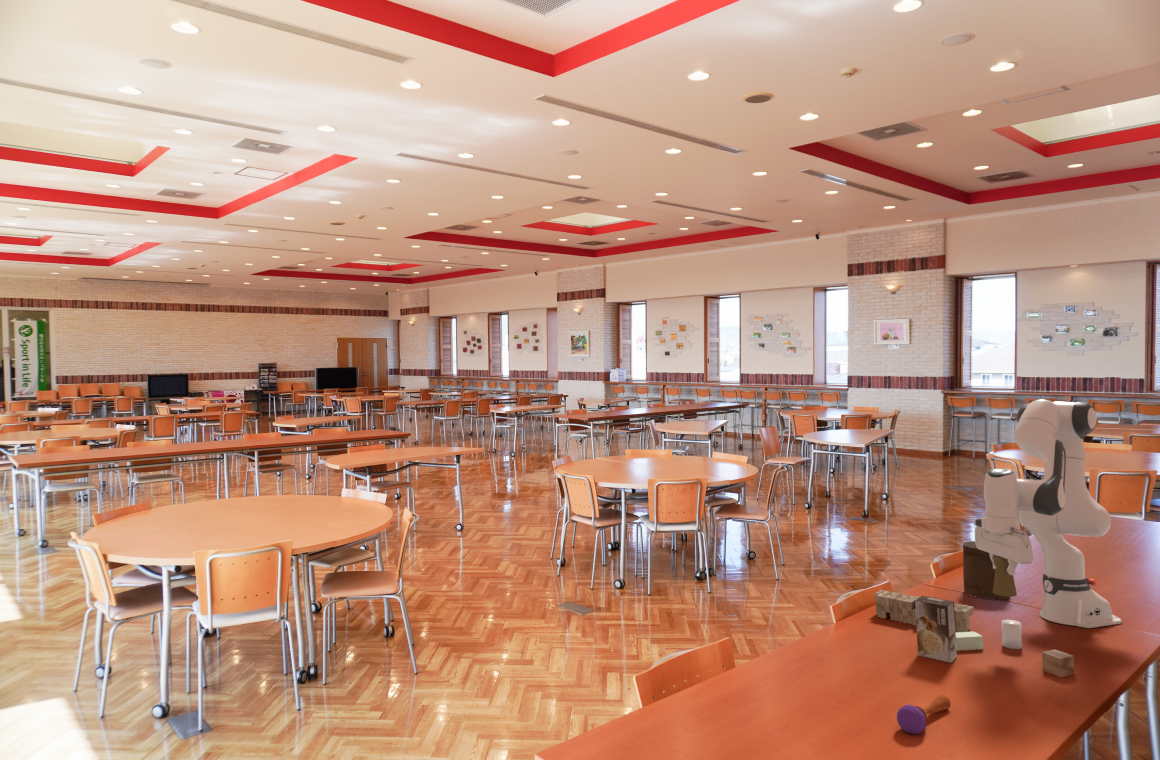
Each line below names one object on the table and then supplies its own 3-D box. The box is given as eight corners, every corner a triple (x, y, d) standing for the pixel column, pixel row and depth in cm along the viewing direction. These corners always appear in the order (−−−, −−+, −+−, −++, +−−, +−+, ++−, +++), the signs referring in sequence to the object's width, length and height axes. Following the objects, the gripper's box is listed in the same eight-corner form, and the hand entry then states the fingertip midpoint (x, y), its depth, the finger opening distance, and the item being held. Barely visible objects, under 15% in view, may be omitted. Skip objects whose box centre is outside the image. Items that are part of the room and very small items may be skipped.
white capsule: (1014, 642, 207) (1013, 619, 207) (1026, 648, 202) (1025, 624, 202) (998, 643, 207) (997, 620, 207) (1010, 649, 202) (1009, 625, 202)
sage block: (974, 644, 207) (973, 631, 207) (983, 649, 203) (982, 636, 203) (949, 646, 206) (948, 632, 206) (957, 651, 202) (957, 637, 202)
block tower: (872, 619, 234) (966, 637, 213) (871, 594, 234) (964, 610, 213) (882, 613, 239) (975, 630, 218) (880, 589, 239) (973, 604, 218)
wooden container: (992, 587, 262) (990, 530, 263) (1019, 599, 248) (1017, 538, 248) (955, 589, 262) (953, 531, 262) (980, 601, 247) (978, 540, 247)
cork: (1020, 596, 198) (1019, 558, 198) (998, 596, 199) (996, 558, 199) (1010, 590, 204) (1009, 553, 204) (989, 590, 205) (987, 553, 205)
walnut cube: (1055, 667, 189) (1055, 649, 189) (1074, 674, 184) (1073, 655, 184) (1042, 670, 187) (1042, 652, 187) (1061, 677, 182) (1060, 658, 183)
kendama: (958, 696, 165) (920, 717, 152) (953, 720, 165) (915, 742, 152) (933, 684, 169) (894, 703, 157) (928, 707, 170) (889, 727, 157)
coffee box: (957, 656, 198) (956, 601, 198) (950, 663, 193) (948, 606, 193) (924, 649, 204) (922, 594, 204) (916, 655, 200) (914, 600, 200)
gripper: (1038, 531, 192) (1040, 581, 192) (989, 517, 212) (991, 562, 212) (1017, 532, 191) (1019, 582, 191) (969, 518, 212) (971, 563, 212)
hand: (1003, 571), depth 202 cm, fingers closed on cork, 4 cm apart
